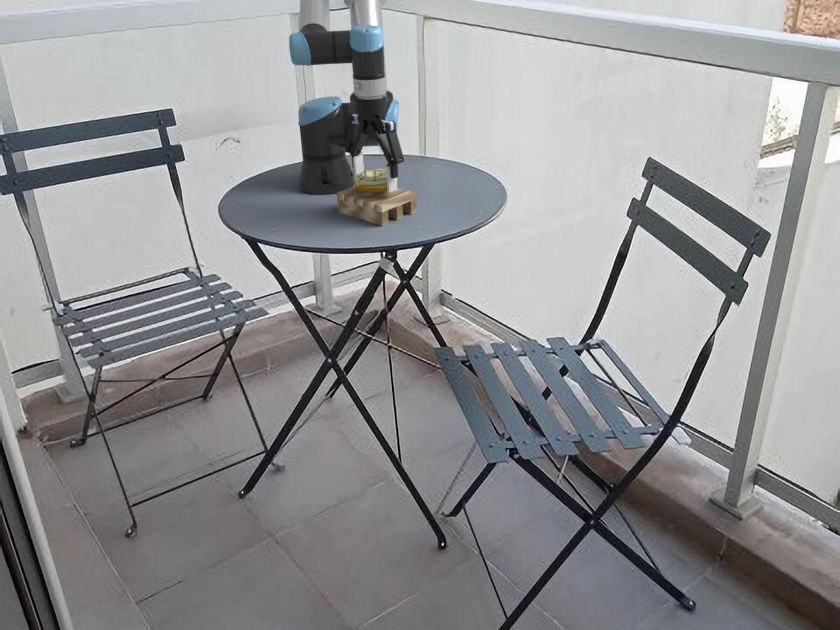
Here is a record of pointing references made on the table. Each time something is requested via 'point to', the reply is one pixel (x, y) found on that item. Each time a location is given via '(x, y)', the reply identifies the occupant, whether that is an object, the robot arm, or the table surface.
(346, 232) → the table surface
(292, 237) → the table surface
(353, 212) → the pallet
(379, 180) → the decorated donut
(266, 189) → the table surface
